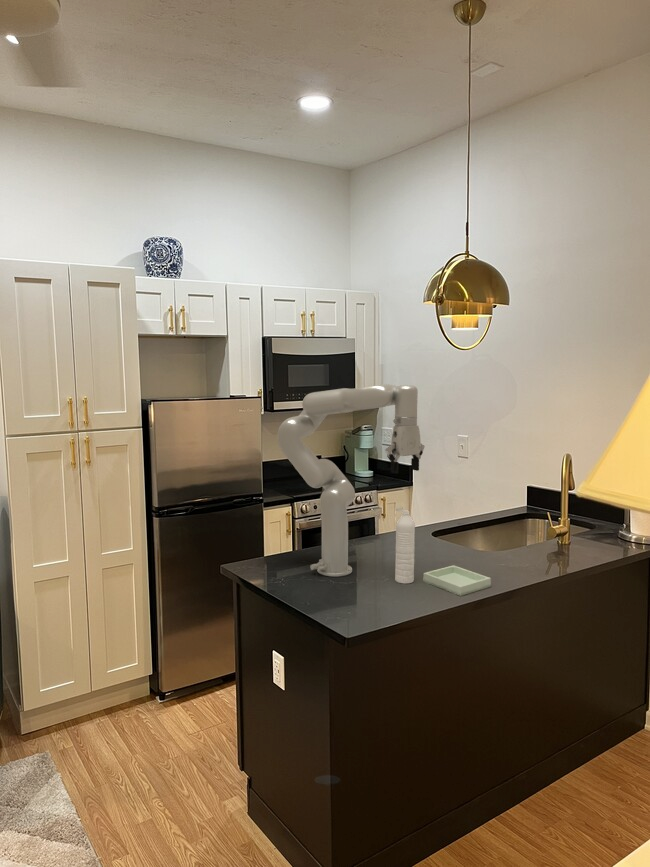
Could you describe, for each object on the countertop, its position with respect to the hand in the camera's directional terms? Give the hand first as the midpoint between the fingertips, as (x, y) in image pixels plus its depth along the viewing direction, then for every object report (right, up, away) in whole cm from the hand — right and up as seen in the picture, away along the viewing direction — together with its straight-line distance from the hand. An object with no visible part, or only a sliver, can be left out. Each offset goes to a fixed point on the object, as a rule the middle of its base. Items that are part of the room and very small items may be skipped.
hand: (404, 471), depth 223 cm
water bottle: (0, -38, +4) cm, 39 cm away
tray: (+18, -39, 0) cm, 42 cm away
